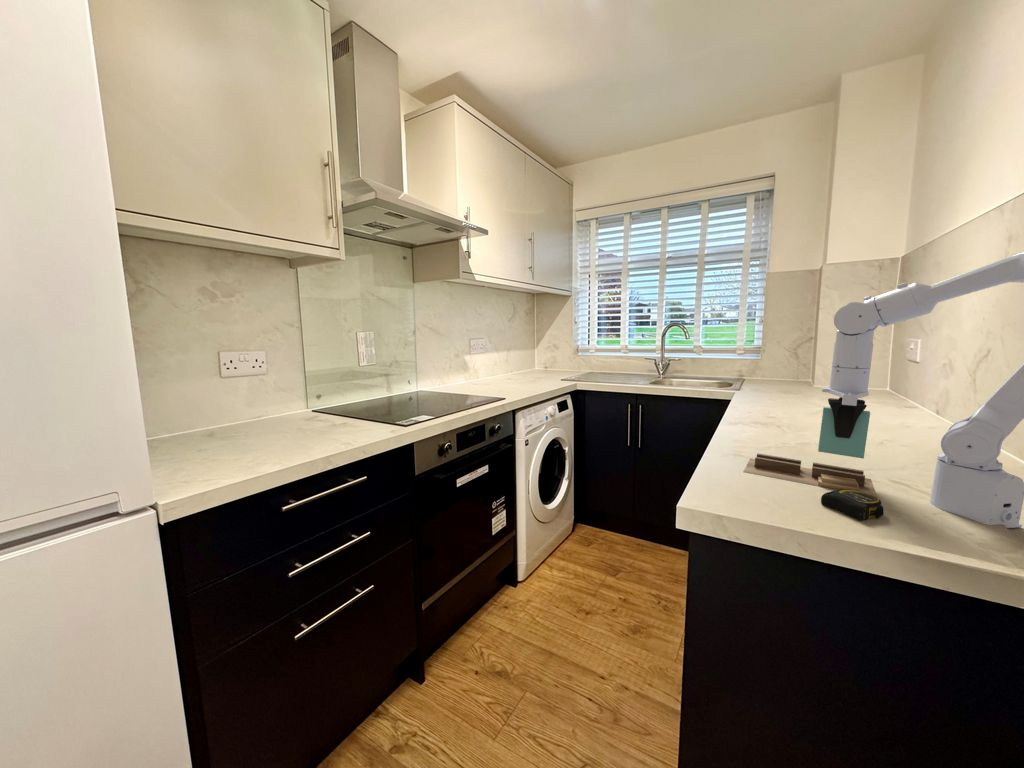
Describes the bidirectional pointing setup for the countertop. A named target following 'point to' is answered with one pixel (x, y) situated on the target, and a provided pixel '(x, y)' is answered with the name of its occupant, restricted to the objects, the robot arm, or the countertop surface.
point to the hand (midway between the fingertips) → (842, 436)
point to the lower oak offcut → (836, 485)
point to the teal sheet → (843, 445)
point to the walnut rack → (804, 471)
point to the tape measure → (853, 503)
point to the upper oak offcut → (839, 480)
